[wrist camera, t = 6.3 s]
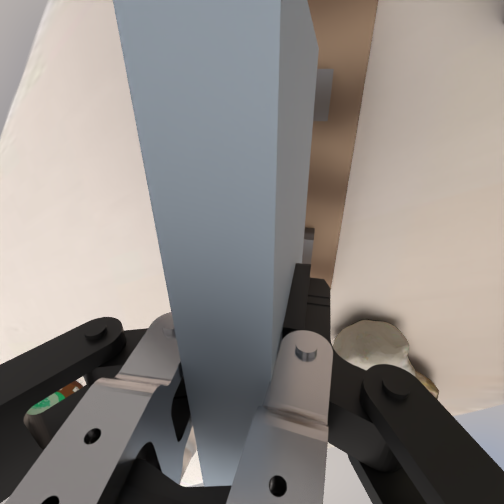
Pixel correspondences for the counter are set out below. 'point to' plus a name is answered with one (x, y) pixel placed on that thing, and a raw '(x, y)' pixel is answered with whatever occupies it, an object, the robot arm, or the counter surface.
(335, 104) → the cabinet base
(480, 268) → the counter surface
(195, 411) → the door
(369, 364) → the ceramic sculpture
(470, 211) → the counter surface
